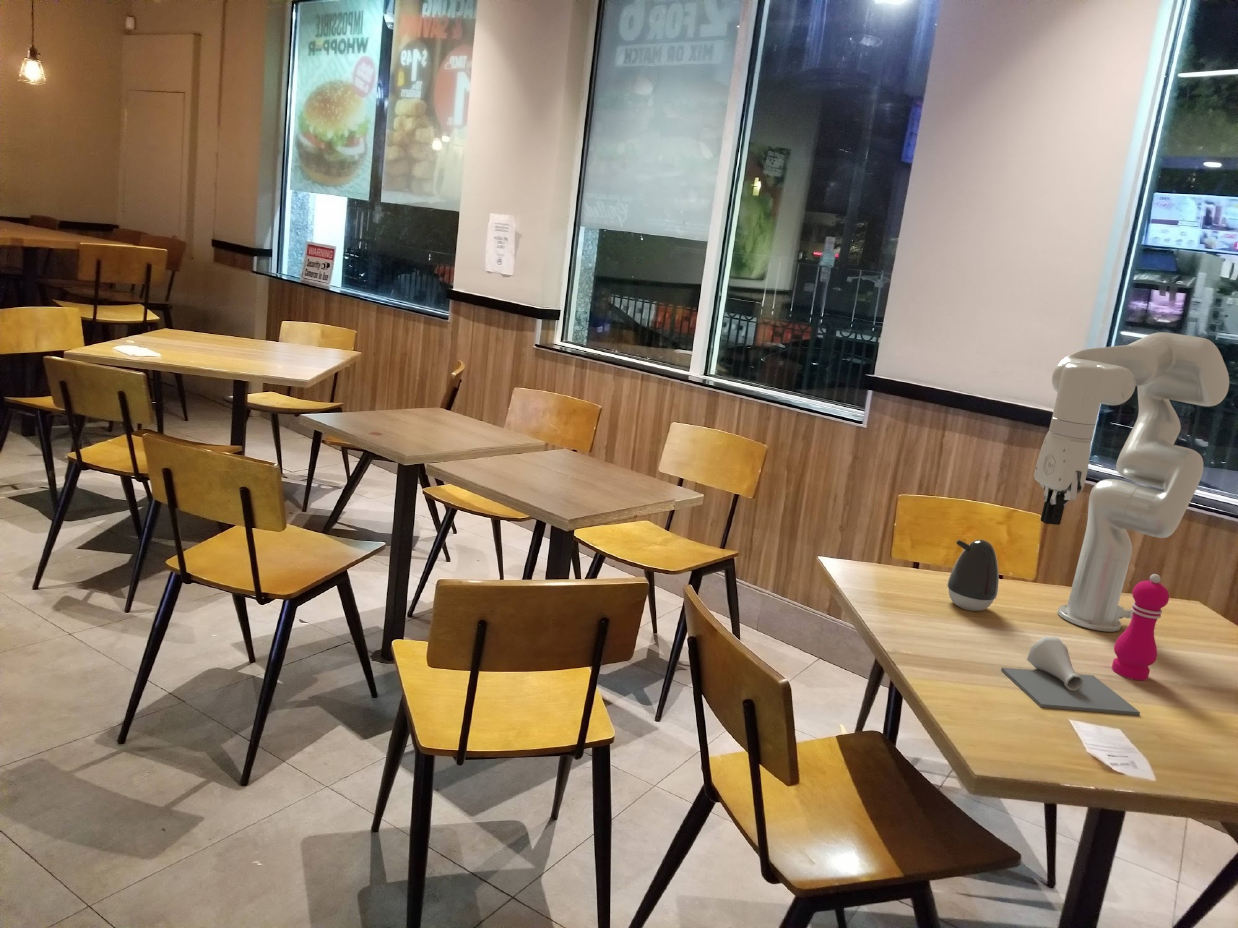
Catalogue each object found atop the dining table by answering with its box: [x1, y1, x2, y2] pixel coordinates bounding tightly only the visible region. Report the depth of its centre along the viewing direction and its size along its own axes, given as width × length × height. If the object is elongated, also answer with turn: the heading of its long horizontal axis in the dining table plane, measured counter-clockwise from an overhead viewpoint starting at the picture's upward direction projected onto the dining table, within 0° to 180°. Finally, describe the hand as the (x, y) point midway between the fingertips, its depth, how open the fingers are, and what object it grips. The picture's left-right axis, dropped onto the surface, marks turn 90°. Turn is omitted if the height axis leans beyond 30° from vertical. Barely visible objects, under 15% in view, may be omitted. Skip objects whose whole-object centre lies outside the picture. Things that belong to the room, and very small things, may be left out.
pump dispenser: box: [946, 539, 1000, 612], centre depth 206 cm, size 10×10×15 cm
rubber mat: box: [1000, 666, 1141, 716], centre depth 169 cm, size 18×14×1 cm
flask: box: [1026, 636, 1084, 691], centre depth 172 cm, size 7×7×10 cm
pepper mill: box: [1111, 573, 1170, 681], centre depth 179 cm, size 7×7×20 cm
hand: (1050, 522), depth 183 cm, fingers closed
